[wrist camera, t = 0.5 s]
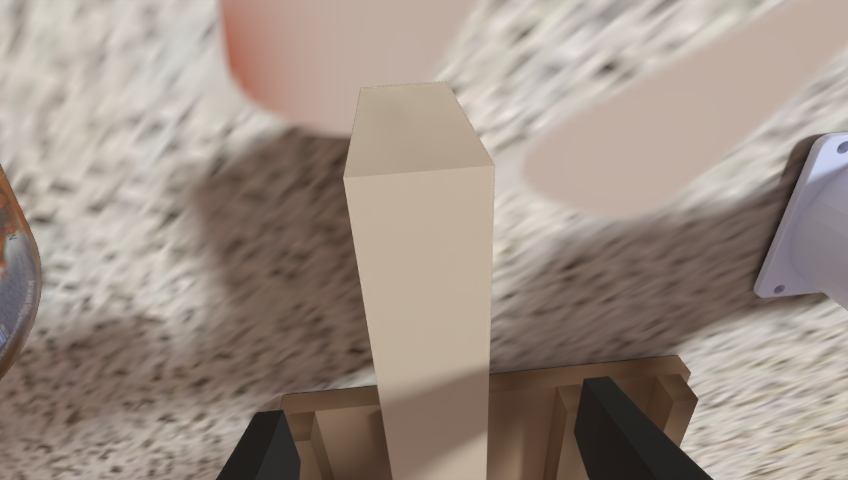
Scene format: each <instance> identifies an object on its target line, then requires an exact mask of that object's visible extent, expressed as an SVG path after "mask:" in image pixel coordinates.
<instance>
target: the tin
mask: <svg viewBox="0 0 848 480" xmlns="http://www.w3.org/2000/svg"><path fill="white" fill-rule="evenodd" d="M41 286H42V279H41V262H40V256H39V252H38V247H37V244H36V242H35V239H34V237H33V234H32V232H31V230H30V227H29V225H28V223H27V221H26V219H25V217H24V215H23V212H22V210H21V208H20V206H19V204H18V202H17V199H16V197H15V195H14V193H13V191H12V188H11V186H10V184H9V182H8V180H7V178H6V176H5V174H4V172H3V169H2V167H1V164H0V380H1V379H2V377H3V376H4V375H5V374H6V373H7V371H8V370H9V369H10V367H11V366H12V364H13V363H14V361H15V360H16V358H17V357H18V355H19V354H20V352H21V350H22V348H23V346H24V344H25V342H26V340H27V338H28V336H29V333H30V331H31V329H32V327H33V324H34V321H35V318H36V314H37V310H38V306H39V302H40V297H41Z"/></svg>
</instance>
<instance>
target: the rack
mask: <svg viewBox="0 0 848 480" xmlns="http://www.w3.org/2000/svg"><path fill="white" fill-rule="evenodd" d="M690 374H691V372H690V371H689V369H688V368H687V367H686V365H685V364H684V363H683V362H682V360H681V359H680V358H679V356H678V355H675V356H665V357H655V358H646V359H636V360H626V361H616V362H606V363H596V364H586V365H576V366H566V367H557V368H547V369H537V370H527V371H517V372H507V373H497V374H489V398H488V434H487V470H486V480H589V478H588V476H587V473H586V470H585V467H584V464H583V461H582V458H581V454H580V451H579V448H578V445H577V441H576V438H575V435H574V427H575V422H576V417H577V412H578V406H579V401H580V396H581V391H582V385H583V380H584V379H585V378H595V377H605V376H609V377H610V378H611V379H613V381H614V382H615V383H616V384H617V385H618V386H619V387H620V388H621V389H622V390H623V391H624V392H625V393H626V394H627V395H628V396H629V397H630V398H631V399H632V400H633V401H634V403H635V404H636V405H637V406H638V407H639V408H640V409H641V410H642V411H643V412H644V413H645V414H646V415H647V416H648V417H649V418H650V419H651V420H652V421H653V422H654V423H655V424H656V425H657V426H658V427H659V428H660V429H661V430H662V431H663V432H664V433H665V434H666V435H667V436H668V437H669V438H670V439H671V440H672V441H673V442H674V443H675V444H676V445H677V446H678V447H680V444H681V442H682V439H683V437H684V434H685V432H686V429H687V427H688V424H689V422H690V419H691V417H692V414H693V412H694V409H695V407H696V404H697V402H698V398H697V397H696V395H695V394H694V393H693V391H692V390H691V389H690V387H689V386H688V385H687V382H688V379H689V376H690ZM280 410H284V413H285V416H286V419H287V422H288V425H289V428H290V431H291V434H292V437H293V440H294V443H295V446H296V449H297V451H298V454H299V457H300V460H301V466H300V478H299V480H393V478H392V472H391V466H390V460H389V454H388V448H387V441H386V435H385V429H384V423H383V417H382V411H381V405H380V399H379V393H378V387H377V386H369V387H359V388H349V389H339V390H329V391H319V392H310V393H300V394H290V395H283V397H282V401H281V406H280Z"/></svg>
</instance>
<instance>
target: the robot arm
mask: <svg viewBox="0 0 848 480" xmlns="http://www.w3.org/2000/svg"><path fill="white" fill-rule="evenodd" d="M841 143H842V144H841ZM840 144H841V145H840ZM839 145H840V147H839ZM838 147H839V148H838ZM753 290H754V292H755V293H756V294H757V295H758V296H759V297H761V298H769V297H780V296H790V295H800V294H811V293H821V292H823V293H824V294H826V295H827V296H828V297H830V298H831V299H832V300H834V301H835V302H836V303H838V304H839V305H841V306H842V307H843V308H845V309H846V310H847V311H848V132H840V133H829V134H825V135H823V136H821V137H820V138H818V139H817V140H816V141H815V142H814V144H813V146H812V148H811V150H810V153H809V155H808V158H807V160H806V162H805V165H804V167H803V170H802V172H801V175H800V177H799V179H798V182H797V184H796V187H795V189H794V191H793V194H792V196H791V199H790V201H789V203H788V206H787V208H786V211H785V213H784V216H783V218H782V220H781V223H780V225H779V228H778V230H777V232H776V235H775V237H774V240H773V242H772V244H771V247H770V249H769V252H768V254H767V256H766V259H765V261H764V264H763V266H762V269H761V271H760V273H759V276H758V278H757V281H756V283H755V285H754V289H753ZM574 435H575V438H576V441H577V445H578V448H579V451H580V454H581V458H582V461H583V464H584V467H585V470H586V473H587V476H588V478H589V480H713V479H712V478H711V477H710V476H709V475H708V474H707V473H706V472H705V471H703V470H702V469H701V468H700V467H699V466H698V465H697V464H696V463H695V462H694V461H693V460H692V459H691V458H690V457H689V456H688V455H687V454H686V453H684V452H683V451H682V450H681V449H680V448H679V447H678V446H677V445H676V444H675V443H674V442H673V441H672V440H671V439H670V438H669V437H668V436H667V435H666V434H665V433H664V432H663V431H662V430H661V429H660V428H659V427H658V426H657V425H656V424H655V423H654V422H653V421H652V420H651V419H650V418H649V417H648V416H647V415H646V414H645V413H644V412H643V411H642V410H641V409H640V408H639V407H638V406H637V405H636V404H635V403H634V401H633V400H632V399H631V398H630V397H629V396H628V395H627V394H626V393H625V392H624V391H623V390H622V389H621V388H620V387H619V386H618V385H617V384H616V383H615V382H614V381H613V379H611V378H610V377H609V376H605V377H595V378H585V379H584V380H583V385H582V391H581V396H580V401H579V406H578V412H577V417H576V422H575V427H574ZM300 466H301V460H300V457H299V454H298V451H297V449H296V446H295V443H294V440H293V437H292V434H291V431H290V428H289V425H288V422H287V419H286V416H285V413H284V410H276V411H267V412H257V413H256V414H255V415H254V416H253V418H252V420H251V422H250V423H249V425H248V427H247V429H246V430H245V432H244V434H243V436H242V437H241V439H240V441H239V442H238V444H237V446H236V448H235V449H234V451H233V453H232V454H231V456H230V458H229V459H228V461H227V463H226V464H225V466H224V467H223V469H222V471H221V472H220V474H219V476H218V477H217V479H216V480H299V478H300Z"/></svg>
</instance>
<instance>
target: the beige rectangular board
mask: <svg viewBox="0 0 848 480" xmlns="http://www.w3.org/2000/svg"><path fill="white" fill-rule="evenodd" d="M343 180H344V186H345V192H346V198H347V204H348V210H349V216H350V222H351V229H352V235H353V241H354V247H355V253H356V259H357V265H358V271H359V277H360V283H361V289H362V295H363V302H364V308H365V314H366V320H367V326H368V332H369V338H370V344H371V350H372V356H373V362H374V368H375V375H376V381H377V387H378V393H379V399H380V405H381V411H382V417H383V423H384V429H385V435H386V441H387V448H388V454H389V460H390V466H391V472H392V478H393V480H486V470H487V434H488V398H489V362H490V326H491V290H492V254H493V218H494V182H495V165H494V163H493V161H492V159H491V158H490V156H489V154H488V152H487V151H486V149H485V147H484V146H483V144H482V142H481V140H480V139H479V137H478V135H477V133H476V132H475V130H474V128H473V127H472V125H471V123H470V121H469V120H468V118H467V116H466V114H465V113H464V111H463V109H462V108H461V106H460V104H459V102H458V101H457V99H456V97H455V95H454V94H453V92H452V90H451V89H450V87H449V85H448V83H447V82H433V83H428V82H426V83H413V84H400V85H387V86H375V87H361V90H360V95H359V100H358V105H357V110H356V115H355V120H354V125H353V131H352V136H351V141H350V146H349V151H348V156H347V161H346V166H345V172H344V177H343Z"/></svg>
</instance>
